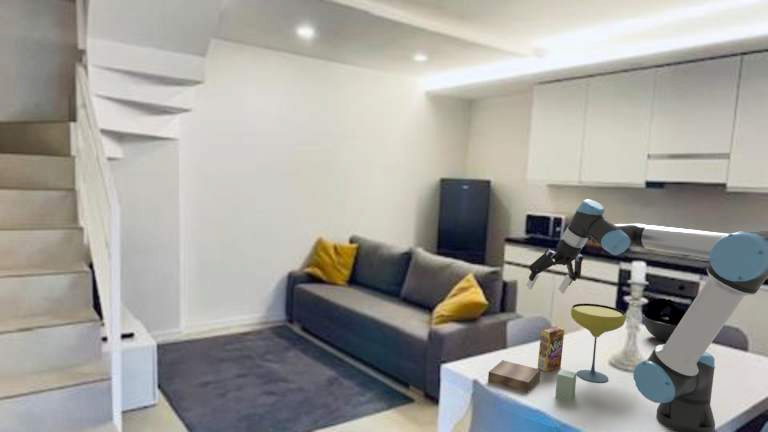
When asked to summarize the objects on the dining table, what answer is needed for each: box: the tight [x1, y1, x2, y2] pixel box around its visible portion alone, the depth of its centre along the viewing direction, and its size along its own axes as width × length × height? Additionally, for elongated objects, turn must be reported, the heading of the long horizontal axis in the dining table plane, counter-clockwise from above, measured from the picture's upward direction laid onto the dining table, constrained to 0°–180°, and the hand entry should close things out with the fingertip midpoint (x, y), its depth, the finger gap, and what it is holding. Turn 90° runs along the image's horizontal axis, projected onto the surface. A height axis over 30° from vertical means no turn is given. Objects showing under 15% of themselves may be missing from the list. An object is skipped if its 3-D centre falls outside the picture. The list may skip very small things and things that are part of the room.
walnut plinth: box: [487, 360, 541, 393], centre depth 178 cm, size 14×14×4 cm
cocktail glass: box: [570, 303, 626, 384], centre depth 183 cm, size 18×18×25 cm
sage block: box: [555, 369, 577, 402], centre depth 166 cm, size 5×5×8 cm
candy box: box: [537, 326, 565, 372], centre depth 190 cm, size 9×4×15 cm, turn 123°
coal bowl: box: [642, 297, 687, 342], centre depth 229 cm, size 20×20×19 cm
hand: (545, 289), depth 180 cm, fingers open, 13 cm apart
